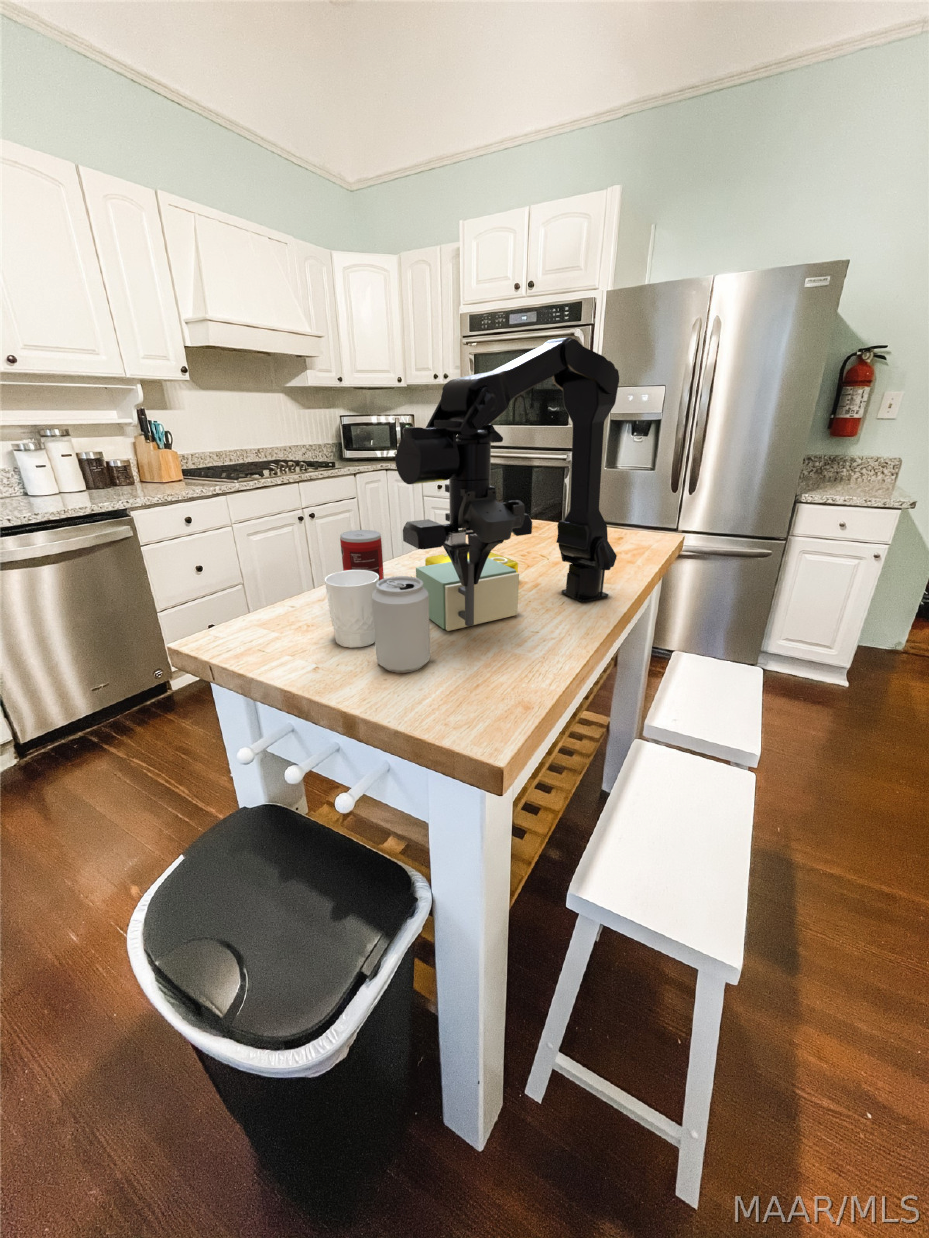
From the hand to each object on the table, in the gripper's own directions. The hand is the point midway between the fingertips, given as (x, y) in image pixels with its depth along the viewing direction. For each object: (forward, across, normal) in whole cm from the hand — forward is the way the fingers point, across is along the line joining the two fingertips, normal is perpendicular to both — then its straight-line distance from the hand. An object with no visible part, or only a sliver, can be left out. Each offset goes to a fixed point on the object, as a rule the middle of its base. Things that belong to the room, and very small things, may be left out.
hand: (469, 584), depth 75 cm
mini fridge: (+8, +4, +9) cm, 13 cm away
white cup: (+9, -16, +8) cm, 19 cm away
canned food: (+9, -6, +30) cm, 32 cm away
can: (+9, -12, -3) cm, 16 cm away
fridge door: (+8, +5, +1) cm, 9 cm away
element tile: (+9, +14, +24) cm, 29 cm away
